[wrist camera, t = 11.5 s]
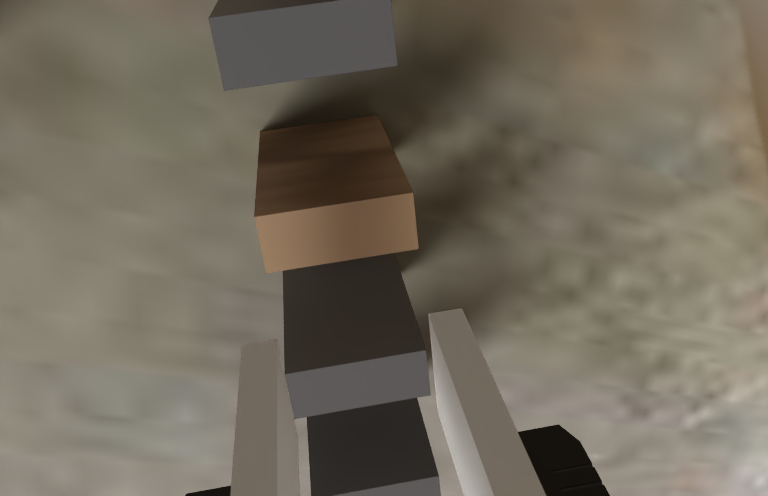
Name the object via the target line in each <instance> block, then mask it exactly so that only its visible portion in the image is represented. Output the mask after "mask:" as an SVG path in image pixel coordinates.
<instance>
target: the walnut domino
mask: <svg viewBox="0 0 768 496" xmlns="http://www.w3.org/2000/svg"><path fill="white" fill-rule="evenodd" d="M254 218H255V223H256V228H257V232H258V237H259V242H260V247H261V251H262V256H263V261H264V266H265V270H266V273H271V272H278V271H284V270H290V269H296V268H303V267H309V266H315V265H321V264H328V263H334V262H340V261H346V260H353V259H359V258H365V257H371V256H378V255H384V254H390V253H396V252H403V251H409V250H415V249H419V247H418V237H417V227H416V216H415V206H414V196H413V191H412V189H411V187H410V185H409V182H408V180H407V178H406V176H405V174H404V172H403V169H402V167H401V165H400V163H399V161H398V159H397V156H396V154H395V152H394V150H393V148H392V145H391V143H390V141H389V139H388V137H387V135H386V132H385V130H384V128H383V126H382V124H381V122H380V119H379V117H378V115H370V116H363V117H357V118H350V119H343V120H336V121H329V122H322V123H315V124H309V125H302V126H295V127H288V128H281V129H274V130H267V131H260V141H259V155H258V170H257V185H256V199H255V214H254Z"/></svg>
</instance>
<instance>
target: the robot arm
mask: <svg viewBox="0 0 768 496" xmlns="http://www.w3.org/2000/svg"><path fill="white" fill-rule="evenodd" d="M428 317H429V327H430V338H431V348H432V358H433V369H434V379H435V389H436V400H437V410H438V414H439V417H440V420H441V423H442V427H443V430H444V433H445V436H446V439H447V443H448V446H449V449H450V452H451V455H452V459H453V462H454V465H455V468H456V471H457V475H458V478H459V481H460V484H461V487H462V491H463V494H464V496H610V495H609V493H608V491H607V489H606V488H605V486H604V485H602V480H601V479H600V477H599V475H598V473H597V471H596V470H595V468H594V467H593V466H592V462H591V461H590V459H589V457H588V455H587V453H586V452H585V450H584V448H583V446H582V444H581V443H580V441H579V440H577V439H576V438H575V437H574V436H572V435H571V434H570V433H569V432H567V431H566V430H565V429H564V428H562V427H561V426H560V425H554V426H548V427H543V428H537V429H532V430H526V431H521V432H517V430H516V427H515V425H514V423H513V421H512V418H511V416H510V414H509V412H508V410H507V407H506V405H505V403H504V401H503V398H502V396H501V394H500V392H499V389H498V387H497V385H496V383H495V381H494V378H493V376H492V374H491V372H490V369H489V367H488V365H487V363H486V361H485V358H484V356H483V354H482V352H481V349H480V347H479V345H478V343H477V340H476V338H475V336H474V334H473V332H472V329H471V327H470V325H469V323H468V320H467V318H466V316H465V314H464V311H463V309H462V308H459V309H453V310H447V311H441V312H435V313H429V314H428ZM185 496H300V482H299V457H298V435H297V430H296V426H295V421H294V416H293V412H292V407H291V402H290V398H289V393H288V388H287V384H286V379H285V374H284V370H283V365H282V360H281V356H280V351H279V346H278V342H277V339H274V340H268V341H262V342H256V343H250V344H244V345H242V350H241V363H240V376H239V389H238V402H237V415H236V428H235V442H234V455H233V468H232V481H231V486H227V487H221V488H216V489H210V490H205V491H199V492H194V493H188V494H186V495H185Z"/></svg>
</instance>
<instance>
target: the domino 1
mask: <svg viewBox="0 0 768 496" xmlns="http://www.w3.org/2000/svg"><path fill="white" fill-rule="evenodd" d="M209 22H210V27H211V31H212V36H213V41H214V45H215V50H216V55H217V59H218V64H219V69H220V73H221V78H222V83H223V87H224V91H225V90H232V89H239V88H246V87H253V86H260V85H267V84H274V83H281V82H288V81H295V80H302V79H309V78H316V77H323V76H330V75H337V74H344V73H351V72H358V71H365V70H373V69H380V68H387V67H394V66H397V56H396V46H395V36H394V26H393V16H392V6H391V0H218V2H217V4H216V5H215V7H214V9H213V11H212V13H211V15H210V16H209Z"/></svg>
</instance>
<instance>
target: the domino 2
mask: <svg viewBox="0 0 768 496" xmlns="http://www.w3.org/2000/svg"><path fill="white" fill-rule="evenodd" d="M283 301H284V359H285V378H286V382H287V387H288V392H289V396H290V401H291V406H292V410H293V415H294V419H297V418H303V417H309V416H315V415H320V414H326V413H332V412H337V411H343V410H349V409H354V408H360V407H366V406H372V405H377V404H383V403H389V402H394V401H400V400H406V399H411V398H417V397H423V396H428V395H431V394H430V384H429V374H428V364H427V355H426V348H425V345H424V342H423V339H422V336H421V333H420V330H419V327H418V324H417V321H416V318H415V315H414V312H413V309H412V306H411V303H410V300H409V297H408V294H407V291H406V287H405V284H404V281H403V278H402V275H401V272H400V269H399V266H398V263H397V260H396V257H395V254H394V253H390V254H384V255H378V256H371V257H365V258H359V259H353V260H346V261H340V262H334V263H328V264H321V265H315V266H309V267H303V268H296V269H290V270H284V271H283Z"/></svg>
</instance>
